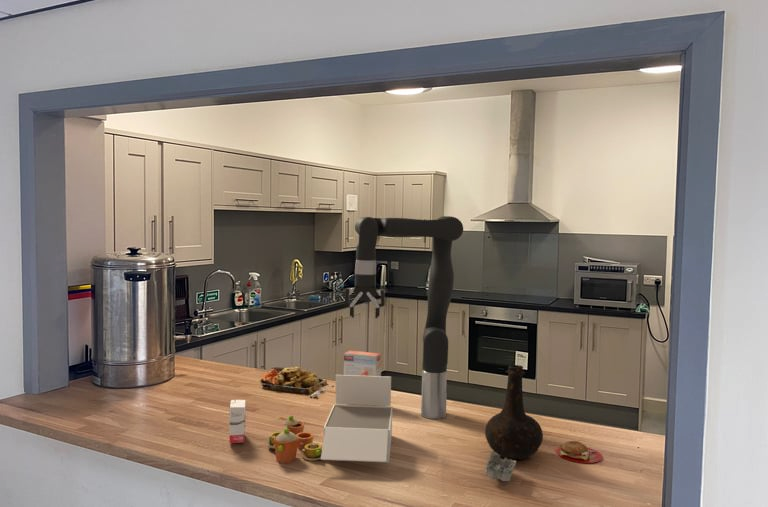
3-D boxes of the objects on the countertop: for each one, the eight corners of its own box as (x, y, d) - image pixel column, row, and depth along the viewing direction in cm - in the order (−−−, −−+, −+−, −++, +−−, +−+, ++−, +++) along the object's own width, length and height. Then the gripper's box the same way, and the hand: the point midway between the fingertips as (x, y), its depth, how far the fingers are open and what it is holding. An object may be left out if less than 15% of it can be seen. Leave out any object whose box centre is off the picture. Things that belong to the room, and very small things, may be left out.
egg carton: (491, 463, 167) (492, 450, 167) (516, 470, 164) (518, 456, 164) (482, 476, 157) (484, 462, 157) (509, 484, 154) (511, 469, 154)
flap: (390, 405, 189) (391, 395, 197) (391, 377, 187) (391, 368, 195) (335, 403, 190) (338, 393, 198) (335, 375, 188) (338, 366, 196)
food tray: (242, 391, 239) (242, 366, 239) (273, 377, 263) (274, 354, 263) (314, 401, 227) (315, 375, 226) (341, 385, 251) (341, 362, 250)
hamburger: (600, 467, 169) (601, 448, 168) (552, 458, 175) (553, 439, 175) (604, 451, 181) (605, 433, 181) (560, 443, 187) (560, 425, 187)
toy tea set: (329, 461, 169) (329, 429, 168) (278, 469, 162) (279, 437, 162) (304, 431, 192) (304, 404, 192) (259, 438, 186) (259, 409, 185)
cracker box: (380, 404, 223) (382, 352, 222) (375, 409, 217) (376, 356, 216) (349, 400, 228) (350, 349, 227) (342, 404, 222) (343, 352, 221)
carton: (391, 435, 190) (392, 406, 189) (388, 475, 159) (388, 440, 159) (333, 433, 191) (333, 404, 190) (318, 472, 160) (318, 438, 160)
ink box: (244, 442, 181) (245, 406, 180) (229, 443, 180) (229, 407, 179) (245, 433, 189) (245, 398, 189) (230, 434, 188) (230, 399, 188)
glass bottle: (509, 469, 165) (512, 376, 163) (473, 448, 180) (475, 362, 179) (554, 459, 173) (557, 370, 172) (515, 439, 189) (518, 357, 187)
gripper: (385, 272, 203) (384, 316, 204) (346, 271, 204) (346, 315, 205) (384, 274, 196) (383, 320, 196) (344, 273, 196) (343, 318, 197)
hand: (364, 317), depth 201 cm, fingers open, 8 cm apart
